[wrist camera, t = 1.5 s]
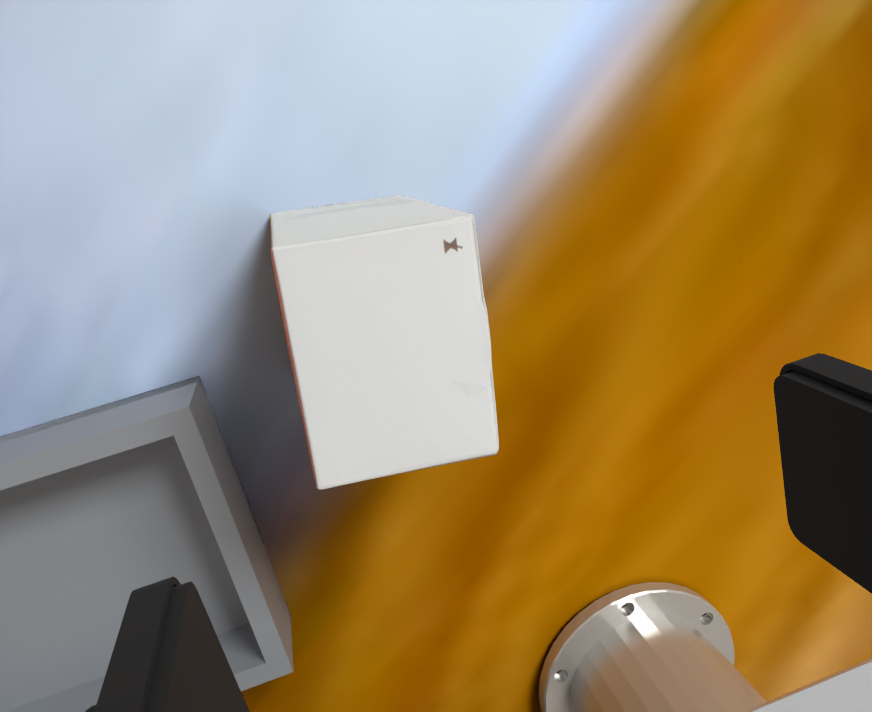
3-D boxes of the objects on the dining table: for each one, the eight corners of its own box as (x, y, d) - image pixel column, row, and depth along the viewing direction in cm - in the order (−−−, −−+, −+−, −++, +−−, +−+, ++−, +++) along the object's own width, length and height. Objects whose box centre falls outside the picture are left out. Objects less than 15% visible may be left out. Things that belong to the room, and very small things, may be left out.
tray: (290, 615, 38) (293, 672, 34) (-20, 727, 36) (-59, 802, 32) (199, 375, 34) (189, 406, 29) (-161, 485, 31) (-228, 536, 27)
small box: (266, 211, 33) (266, 242, 20) (402, 192, 34) (480, 209, 21) (299, 379, 35) (316, 496, 23) (425, 355, 36) (506, 455, 24)
